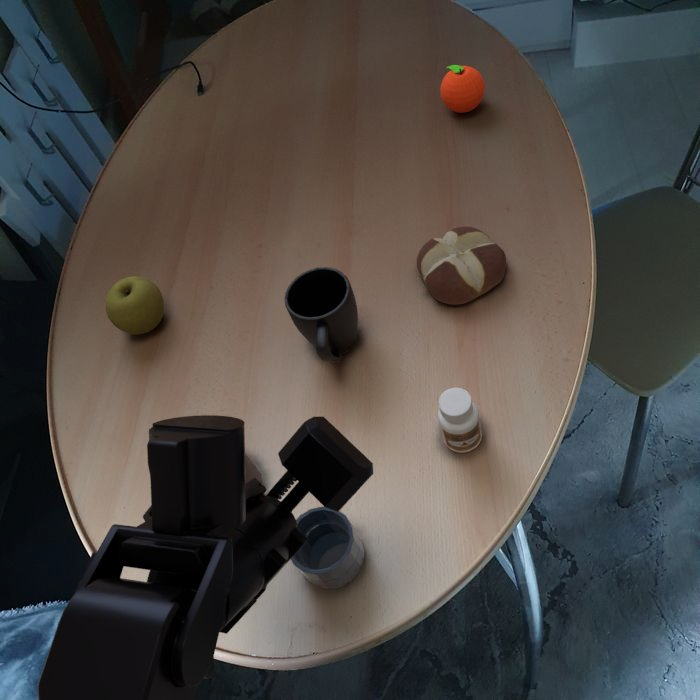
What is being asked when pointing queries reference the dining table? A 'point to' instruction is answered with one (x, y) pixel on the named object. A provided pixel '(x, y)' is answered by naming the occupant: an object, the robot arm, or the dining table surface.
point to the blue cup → (328, 548)
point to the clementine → (462, 88)
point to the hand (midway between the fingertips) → (307, 494)
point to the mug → (324, 311)
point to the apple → (135, 305)
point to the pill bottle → (459, 420)
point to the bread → (461, 265)
